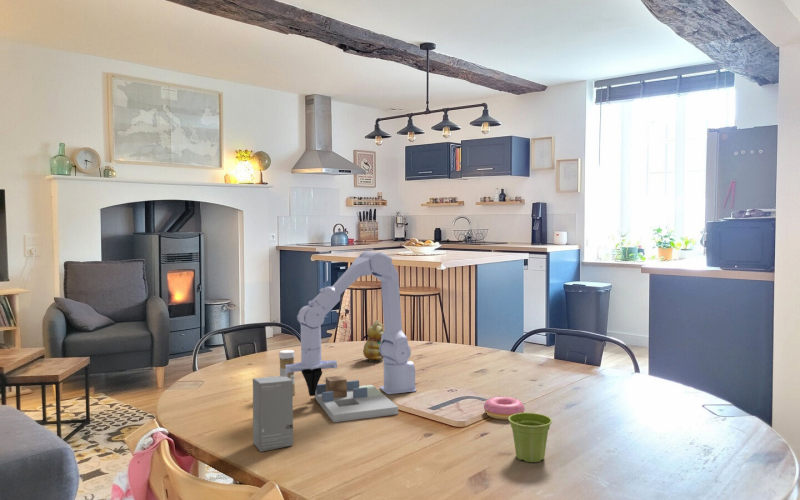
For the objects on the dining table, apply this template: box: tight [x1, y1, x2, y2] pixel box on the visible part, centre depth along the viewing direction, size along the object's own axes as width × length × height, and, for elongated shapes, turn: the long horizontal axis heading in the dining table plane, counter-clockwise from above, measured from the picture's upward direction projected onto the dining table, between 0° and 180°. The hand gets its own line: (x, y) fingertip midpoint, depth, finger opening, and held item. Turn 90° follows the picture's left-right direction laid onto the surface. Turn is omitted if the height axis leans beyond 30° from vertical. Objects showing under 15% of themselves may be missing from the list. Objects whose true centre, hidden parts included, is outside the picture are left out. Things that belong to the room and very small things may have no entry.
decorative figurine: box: [362, 319, 384, 363], centre depth 228 cm, size 10×8×15 cm
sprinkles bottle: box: [278, 349, 296, 396], centre depth 184 cm, size 5×5×13 cm
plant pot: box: [507, 412, 553, 463], centre depth 134 cm, size 9×9×9 cm
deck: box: [313, 379, 399, 423], centre depth 173 cm, size 18×24×4 cm
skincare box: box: [252, 375, 294, 453], centre depth 143 cm, size 8×7×16 cm
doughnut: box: [483, 395, 525, 421], centre depth 164 cm, size 11×11×4 cm
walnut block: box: [325, 375, 348, 398], centre depth 176 cm, size 5×5×5 cm
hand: (312, 394), depth 174 cm, fingers closed
